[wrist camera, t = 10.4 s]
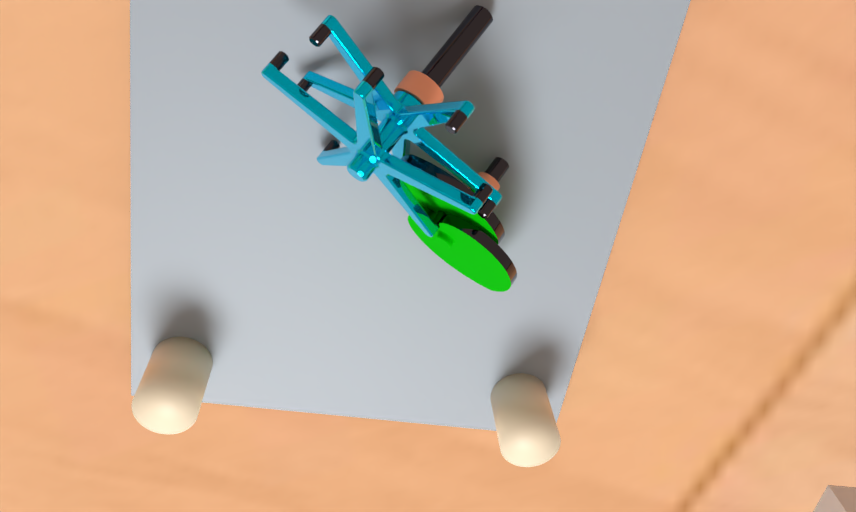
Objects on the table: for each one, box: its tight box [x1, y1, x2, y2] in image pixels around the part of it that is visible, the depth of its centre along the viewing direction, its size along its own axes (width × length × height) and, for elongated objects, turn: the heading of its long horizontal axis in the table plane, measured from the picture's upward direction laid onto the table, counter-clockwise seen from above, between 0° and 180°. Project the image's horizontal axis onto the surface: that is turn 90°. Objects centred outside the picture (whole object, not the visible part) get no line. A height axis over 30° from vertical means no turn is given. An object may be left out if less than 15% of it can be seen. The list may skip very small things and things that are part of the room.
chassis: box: [130, 0, 691, 467], centre depth 27 cm, size 18×25×4 cm
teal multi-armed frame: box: [261, 5, 517, 292], centre depth 26 cm, size 12×7×8 cm
